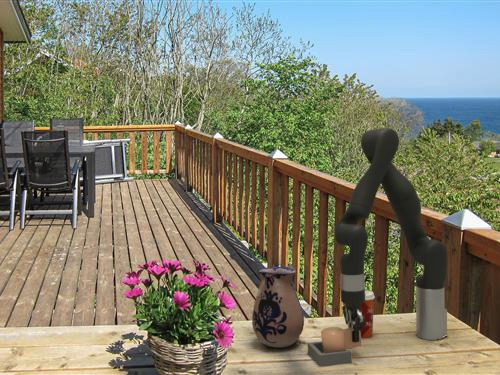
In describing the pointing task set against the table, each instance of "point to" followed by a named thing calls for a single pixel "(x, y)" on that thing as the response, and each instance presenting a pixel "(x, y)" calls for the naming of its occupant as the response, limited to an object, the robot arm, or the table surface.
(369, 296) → the coffee cup
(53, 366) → the table surface
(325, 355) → the charcoal holder
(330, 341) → the peach mallet
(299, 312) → the ceramic pitcher
